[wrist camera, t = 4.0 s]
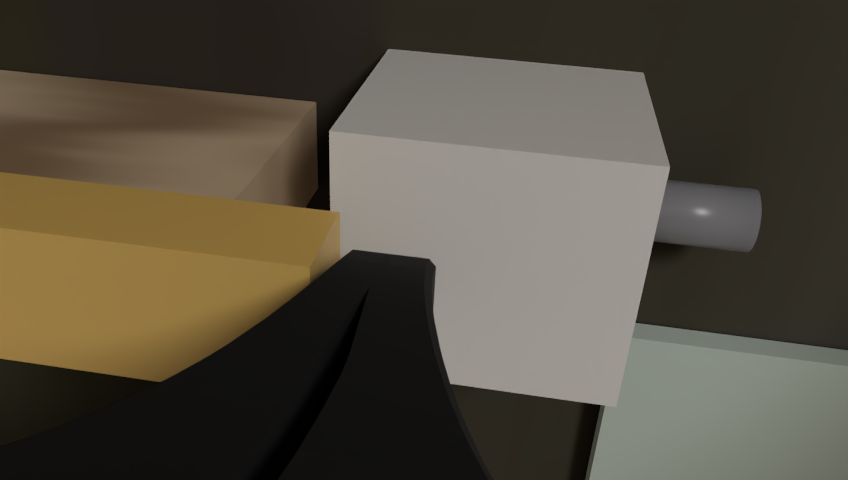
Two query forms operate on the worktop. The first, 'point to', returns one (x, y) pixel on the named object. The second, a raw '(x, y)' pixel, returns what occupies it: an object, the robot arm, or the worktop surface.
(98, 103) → the pinkish brown block
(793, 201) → the worktop surface
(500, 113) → the plug
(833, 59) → the worktop surface
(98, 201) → the mustard yellow beam
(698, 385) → the mat
